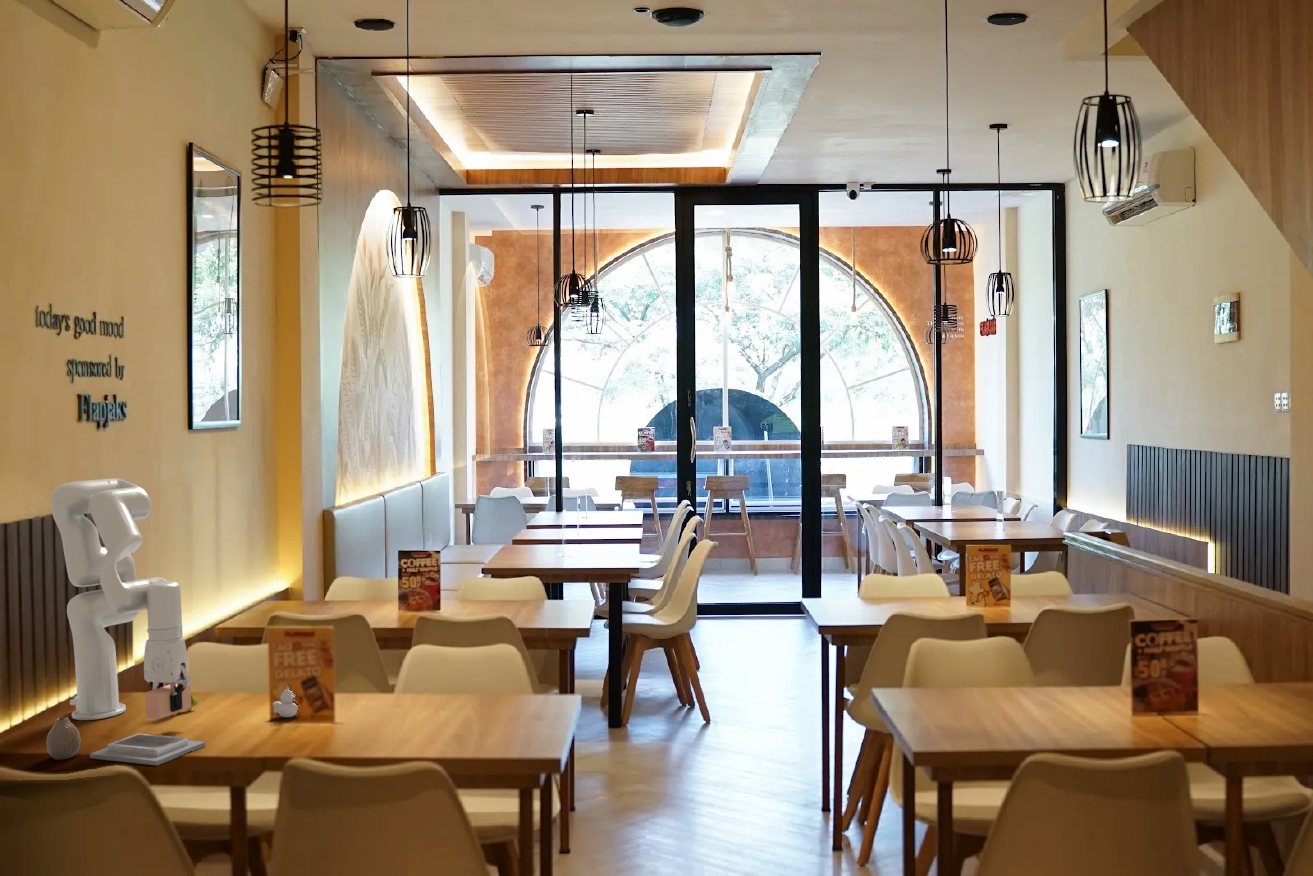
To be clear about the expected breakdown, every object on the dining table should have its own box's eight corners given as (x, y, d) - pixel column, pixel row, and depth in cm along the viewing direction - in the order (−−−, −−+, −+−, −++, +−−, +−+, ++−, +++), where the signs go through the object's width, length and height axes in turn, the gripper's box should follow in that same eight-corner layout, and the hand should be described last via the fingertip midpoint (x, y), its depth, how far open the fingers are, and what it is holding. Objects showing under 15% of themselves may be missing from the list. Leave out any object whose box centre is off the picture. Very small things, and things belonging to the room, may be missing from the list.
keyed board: (90, 758, 263) (89, 747, 263) (139, 739, 276) (139, 729, 276) (157, 765, 255) (156, 754, 255) (205, 746, 268) (204, 735, 268)
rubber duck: (295, 719, 287) (293, 687, 287) (269, 720, 288) (267, 688, 287) (303, 713, 292) (301, 681, 292) (278, 714, 293) (276, 682, 293)
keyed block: (146, 717, 277) (145, 692, 277) (178, 706, 287) (177, 681, 286) (159, 719, 276) (158, 694, 276) (191, 707, 285) (190, 683, 285)
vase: (71, 750, 270) (68, 713, 269) (87, 754, 266) (85, 716, 265) (41, 759, 264) (38, 720, 264) (57, 763, 260) (54, 724, 260)
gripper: (126, 634, 280) (130, 710, 281) (180, 640, 273) (183, 717, 275) (151, 628, 287) (155, 701, 288) (204, 633, 280) (207, 708, 281)
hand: (169, 708), depth 281 cm, fingers closed on keyed block, 4 cm apart
